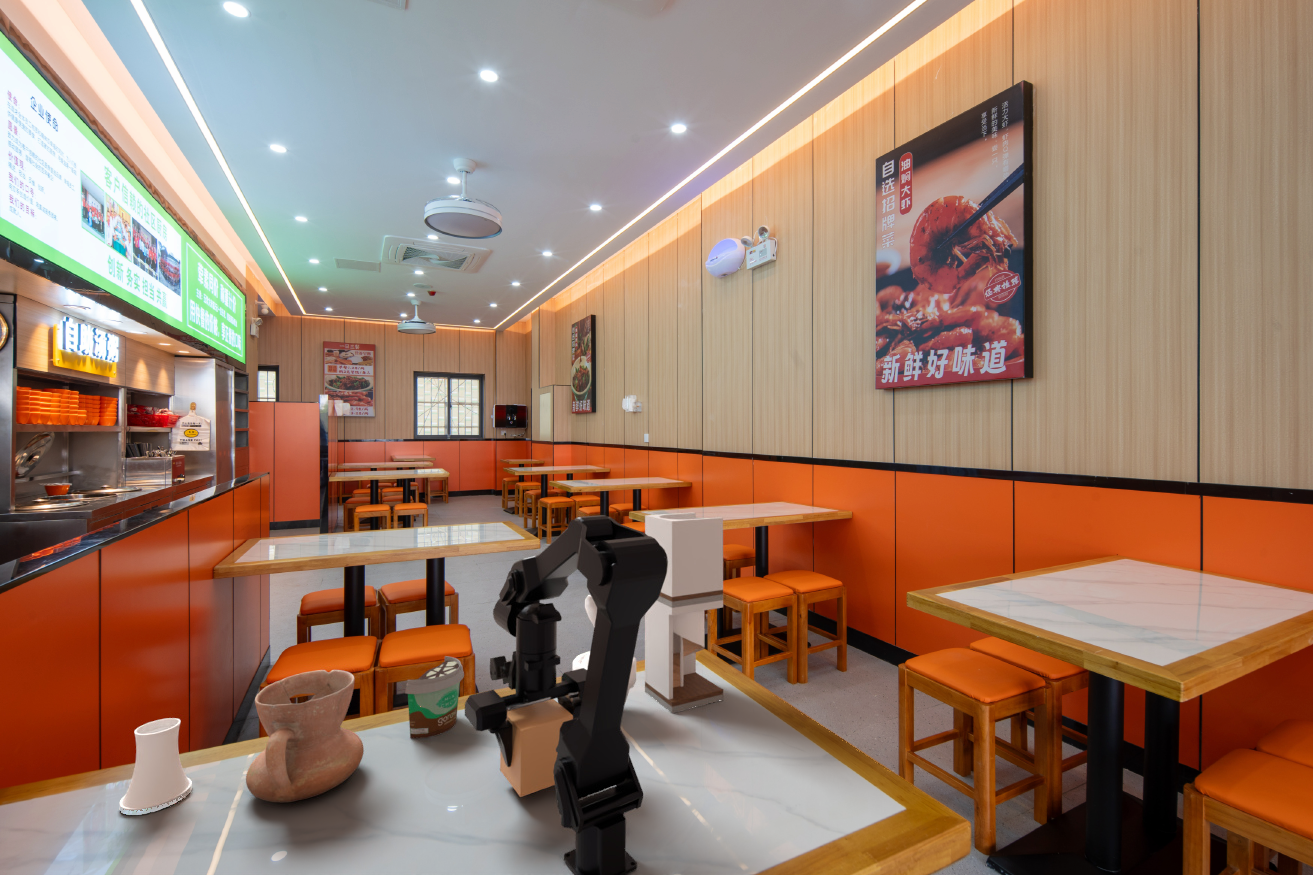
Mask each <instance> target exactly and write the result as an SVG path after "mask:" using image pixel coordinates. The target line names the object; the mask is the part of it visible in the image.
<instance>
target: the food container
mask: <svg viewBox="0 0 1313 875" xmlns="http://www.w3.org/2000/svg"><path fill="white" fill-rule="evenodd" d="M463 667H464V666H463V665H462V663H461V660H459V659H458V658H456V657H453V656H446V655H444V662H441V663H440V664H439V665H437V666H435V667H432V668H430V669H428V670H426V671H425V672H424V673H423V674H422V675H421V676H420V677H418V678H417V679H407V680H406V685H405V692H404V694H407V702H408V722H409V737H410V739H427V738H431V737H432V738H433V737H436V736H439V735H442V734H444V733H445V734H446V733H447V732H448V731H450V730H451V729H453V728H454V727H455V726H456V724H457V720H458V719H457V717H458V706H459V697H460V696H459V694H460V684H461V683H460V682H461V681H462V680H463V678H464V676H465V673H464V672H465V671H464V669H463ZM420 706H421V707H420Z"/></svg>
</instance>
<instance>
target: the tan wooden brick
mask: <svg viewBox="0 0 1313 875" xmlns="http://www.w3.org/2000/svg"><path fill="white" fill-rule="evenodd" d="M572 719H573V715H572V714H571V713H569V712H568V711H567V710H566V709H565V708H564V707H562V706H561V705H560V704H559V703H558V701H556V700H555V699H551V700H547V701H544V702H540V703H536V704H532V705H529V706H525V707H521V708H517V709H514V710H510V711H508V712H507V720H508V721H509V722H510V723H511V724H512V725H513V735H512V762H511V766H510V767H507V765H506V764H505V761H504V758H503V755H502V752H501V750H500V753H499V754H500V755H499V757H500V759H499V763H500V766H499V767H500V768H499V770H500V772H501V773H502V775H503V776H504V778H506V780H507V781H508V783H509V784H510V786H512V788H513V789H514V791H515V792H516V793H517V795H518V796H519V797H520V798H521V797H525V796H527V795H530V794H532V793H535V792H538V791H541V790H544V789H547V788H550V787H553V786H555V782H554V774H553V770H554V764H555V761H556V758H557V754H558V753H557V752H556V748H557V746H558V742H559V733H560V727H561V725H562V723H563V722H565V721H569V720H572Z"/></svg>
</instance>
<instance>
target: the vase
mask: <svg viewBox="0 0 1313 875" xmlns="http://www.w3.org/2000/svg"><path fill="white" fill-rule="evenodd" d="M180 726H181V719H180V718H175V717H172V718H171V717H169V718H167V717H166V718H162V719H157V720H154V721H149V722H146V723H144V724H143V725H140V726H138V727H137V728H136V729H134V737H135V746H136V748H135V750H136V753H135V764H134V769H133V772H132V776H131V780H130V782H129V786H128V788H127V791H126V792H125V795H124V796H123V797H122V798H121V799H120V801H119V808H120V807H121V808H123V810H124V809H125V810H129V811H130V810H131V811H134V810H137V811H138V810H140V811H143V810H142V809H146V808H147V810H148V808H151V809H152V807H156V806H157V808H158V807H159V805H162V804H165V803H167V804H168V805H169V802H171V801H172V802H173V800H175V799H176V801H178V798H179V797H180V798H182V799H183V798H184V799H185V798H187V797H188V796H189V795H190V794H191V792H192V789H193V788H192V786H193V785H192V784H193V782H192V780H191V778H189V777H187V775H186V773H185V771H184V768H183V766H182V763H181V762H182V761H181V759H180V753H179V732H180V731H179V730H180ZM189 793H190V794H189ZM188 794H189V795H188ZM181 795H182V796H183V797H182V796H181ZM187 795H188V796H187ZM184 796H185V797H184ZM186 796H187V797H186ZM180 798H179V799H180ZM184 799H183V800H184ZM162 806H163V805H162ZM147 810H146V811H147ZM137 811H136V812H137Z"/></svg>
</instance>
